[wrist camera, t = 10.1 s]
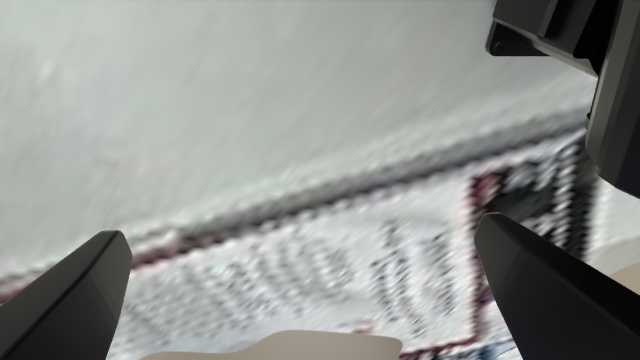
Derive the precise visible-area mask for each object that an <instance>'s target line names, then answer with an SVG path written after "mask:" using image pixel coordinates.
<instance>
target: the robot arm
mask: <svg viewBox="0 0 640 360" xmlns="http://www.w3.org/2000/svg"><path fill="white" fill-rule="evenodd" d="M493 18H494V20H493V24H492V27H491V30H490V34H489V37H488V40H487V44H486V51H487V52H488V53H489V54H491V55H492V56H552V57H554V58H556V59H558V60H560V61H563V62H565V63H567V64H569V65H571V66H573V67H575V68H577V69H579V70H582V71H584V72H586V73H588V74H590V75H592V76H594V77H596V78H598V82H597V86H596V90H595V94H594V98H593V102H592V106H591V110H590V113H588V114H587V116H586V120H585V124H584V125H585V127H586V129H587V133H586V151H587V152H588V154H589V156H590V157H591V159H592V160H593V162H594V163H595V164H596V165H597V166H598V170H597V174H598V176H600V177H601V178H602V179H604V180H605V181H607V182H608V183H610V184H611V185H613V186H614V187H616V188H617V189H619V190H621V191H623V192H625V193H627V194H629V195H632V196H634V197H636V198H638V199H640V0H497V3H496V7H495V10H494V13H493ZM498 42H499V46H498V47H497V48H496V49H494V46H495V44H496V43H498ZM474 243H475V246H476V249H477V252H478V255H479V258H480V261H481V263H482V266H483V269H484V272H485V275H486V278H487V280H488V283H489V286H490V289H491V291H492V294H493V297H494V299H495V301H496V303H497V306H498V308H499V310H500V312H501V314H502V316H503V318H504V320H505V322H506V324H507V327H508V329H509V331H510V333H511V335H512V337H513V339H514V341H515V343H516V345H517V348H518V350H519V352H520V354H521V356H522V358H523V360H640V295H638V294H636V293H635V292H633V291H631V290H630V289H628V288H626V287H625V286H623V285H621V284H620V283H618V282H616V281H615V280H613V279H611V278H610V277H608V276H606V275H605V274H603V273H601V272H600V271H598V270H596V269H595V268H593V267H591V266H590V265H588V264H586V263H585V262H583V261H581V260H580V259H578V258H576V257H575V256H573V255H571V254H570V253H568V252H566V251H564V250H563V249H561V248H559V247H558V246H556V245H554V244H553V243H551V242H549V241H548V240H546V239H544V238H543V237H541V236H539V235H538V234H536V233H534V232H533V231H531V230H529V229H528V228H526V227H524V226H523V225H521V224H519V223H518V222H516V221H514V220H513V219H511V218H509V217H508V216H506V215H504V214H502V213H486V214H484V215H483V216H482V218H481V221H480V223H479V226H478V228H477V230H476V233H475V236H474ZM132 260H133V258H132V252H131V250H130V248H129V245H128V243H127V241H126V239H125V236H124V234H123V233H122V232H121V231H119V230H107V231H101V232H99V233H98V234H96V235H95V236H94V237H92V238H91V239H90V240H88V241H87V242H86V243H84V244H83V245H81V246H80V247H79V248H77V249H76V250H75V251H73V252H72V253H71V254H69V255H68V256H67V257H65V258H64V259H63V260H61V261H60V262H59V263H57V264H56V265H55V266H53V267H52V268H51V269H49V270H48V271H46V272H45V273H44V274H42V275H41V276H40V277H38V278H37V279H36V280H34V281H33V282H32V283H30V284H29V285H28V286H26V287H25V288H24V289H22V290H21V291H20V292H18V293H17V294H16V295H14V296H13V297H11V298H10V299H9V300H7V301H6V302H5V303H3V304H2V305H1V306H0V360H105V359H106V356H107V353H108V351H109V348H110V345H111V342H112V339H113V337H114V334H115V331H116V328H117V325H118V321H119V317H120V314H121V309H122V305H123V301H124V296H125V292H126V288H127V283H128V279H129V275H130V271H131V266H132Z"/></svg>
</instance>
